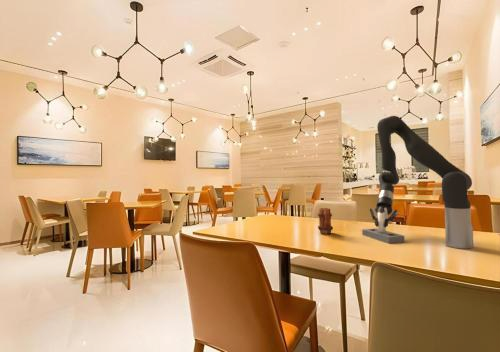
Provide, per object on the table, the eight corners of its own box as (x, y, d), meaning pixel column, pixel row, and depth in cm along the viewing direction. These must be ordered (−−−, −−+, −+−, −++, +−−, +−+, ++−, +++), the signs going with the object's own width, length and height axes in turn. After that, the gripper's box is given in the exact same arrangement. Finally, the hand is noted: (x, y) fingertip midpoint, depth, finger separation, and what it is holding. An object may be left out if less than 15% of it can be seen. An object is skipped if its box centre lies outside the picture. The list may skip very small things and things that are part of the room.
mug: (317, 231, 160) (316, 206, 160) (331, 231, 159) (330, 206, 159) (320, 237, 146) (319, 209, 146) (335, 237, 144) (335, 209, 145)
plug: (382, 235, 141) (381, 206, 141) (387, 236, 138) (386, 207, 138) (377, 235, 141) (376, 206, 141) (381, 237, 137) (380, 207, 137)
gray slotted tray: (376, 233, 150) (376, 228, 150) (404, 241, 131) (404, 235, 131) (362, 234, 148) (362, 229, 148) (388, 243, 129) (388, 237, 129)
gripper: (370, 195, 150) (364, 220, 140) (398, 196, 141) (395, 222, 131) (372, 204, 154) (367, 229, 144) (400, 205, 145) (397, 231, 136)
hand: (381, 226), depth 138 cm, fingers closed on plug, 3 cm apart
